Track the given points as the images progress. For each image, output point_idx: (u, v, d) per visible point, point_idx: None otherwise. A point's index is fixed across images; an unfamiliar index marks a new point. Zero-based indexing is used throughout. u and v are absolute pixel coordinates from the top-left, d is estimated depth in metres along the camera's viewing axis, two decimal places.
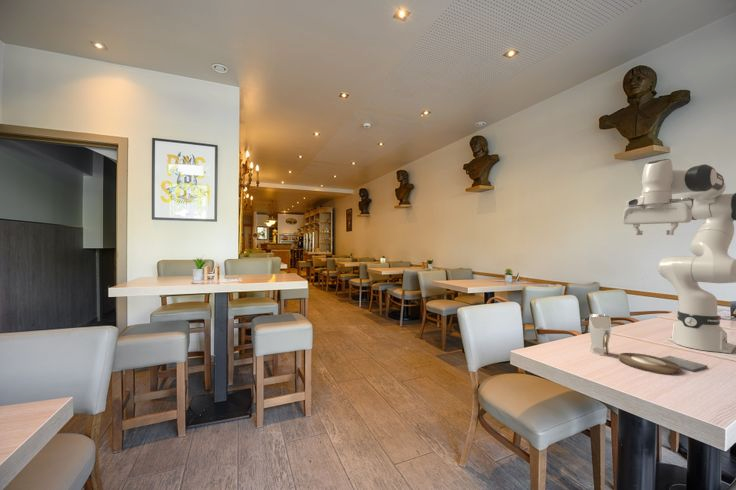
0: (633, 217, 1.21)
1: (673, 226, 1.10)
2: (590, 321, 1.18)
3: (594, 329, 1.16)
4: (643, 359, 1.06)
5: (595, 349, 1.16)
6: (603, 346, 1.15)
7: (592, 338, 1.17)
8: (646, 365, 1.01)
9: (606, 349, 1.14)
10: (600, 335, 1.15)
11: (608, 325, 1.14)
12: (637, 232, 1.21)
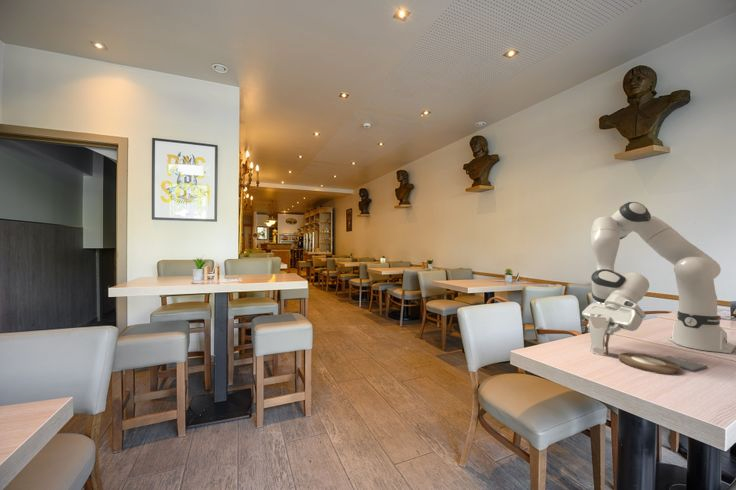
0: None
1: None
2: (590, 321, 1.18)
3: (594, 329, 1.16)
4: (643, 359, 1.06)
5: (595, 349, 1.16)
6: (603, 346, 1.15)
7: (592, 338, 1.17)
8: (646, 365, 1.01)
9: (606, 349, 1.14)
10: (600, 335, 1.15)
11: (608, 325, 1.14)
12: None
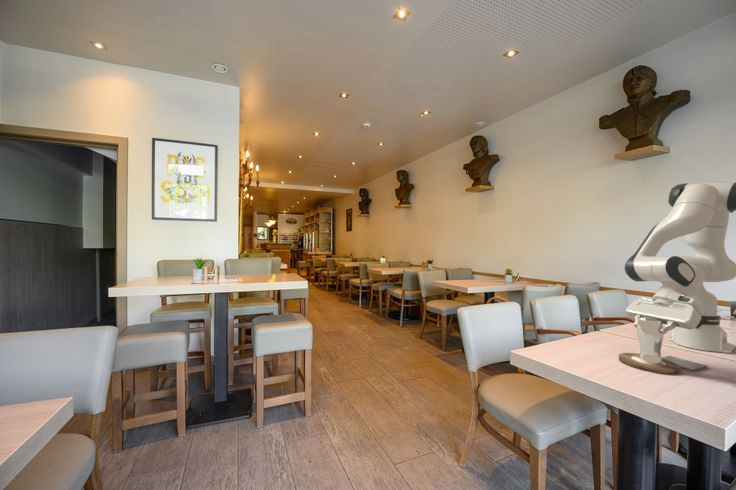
0: None
1: None
2: (639, 325, 1.05)
3: (645, 334, 1.03)
4: None
5: (646, 357, 1.03)
6: (655, 354, 1.02)
7: (642, 345, 1.05)
8: (646, 365, 1.01)
9: (659, 357, 1.02)
10: (652, 341, 1.02)
11: None
12: None
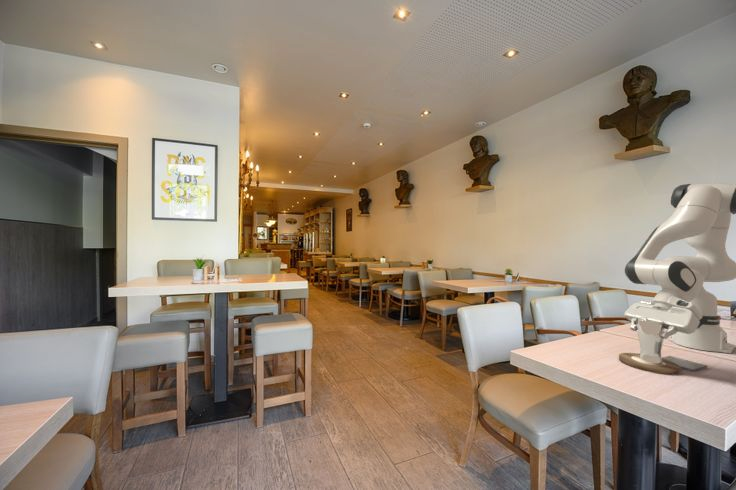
0: None
1: None
2: (640, 326, 1.05)
3: (645, 335, 1.03)
4: None
5: (646, 357, 1.03)
6: (656, 354, 1.02)
7: (642, 345, 1.05)
8: (646, 365, 1.01)
9: (659, 357, 1.02)
10: (653, 342, 1.02)
11: (662, 330, 1.01)
12: None
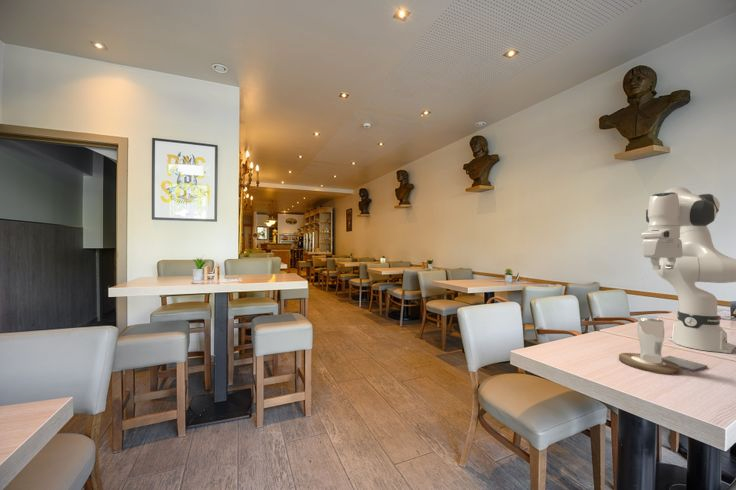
0: (660, 250, 1.09)
1: (674, 261, 1.14)
2: (640, 326, 1.05)
3: (646, 335, 1.03)
4: None
5: (647, 357, 1.03)
6: (656, 354, 1.02)
7: (642, 345, 1.05)
8: (646, 365, 1.01)
9: (659, 357, 1.02)
10: (653, 342, 1.02)
11: (662, 330, 1.01)
12: (659, 267, 1.10)
